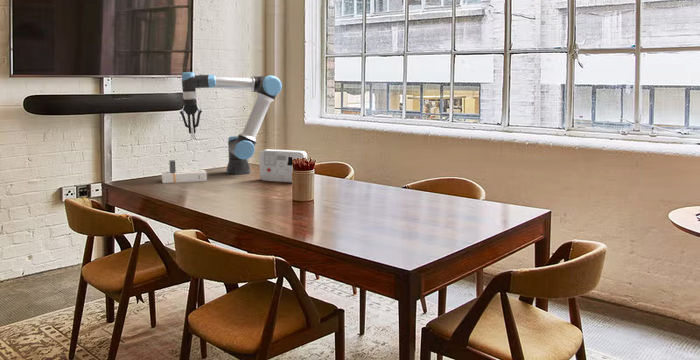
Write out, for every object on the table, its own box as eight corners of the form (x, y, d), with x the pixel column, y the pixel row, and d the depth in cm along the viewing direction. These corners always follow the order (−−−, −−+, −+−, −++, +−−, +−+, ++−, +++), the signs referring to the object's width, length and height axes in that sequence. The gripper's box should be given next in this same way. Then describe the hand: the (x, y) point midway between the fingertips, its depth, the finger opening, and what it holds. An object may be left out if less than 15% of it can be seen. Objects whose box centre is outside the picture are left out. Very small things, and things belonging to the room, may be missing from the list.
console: (204, 178, 400) (204, 169, 399) (207, 180, 390) (206, 172, 389) (161, 180, 392) (161, 171, 391) (162, 183, 382) (162, 174, 381)
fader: (175, 178, 392) (174, 160, 390) (176, 180, 387) (175, 161, 385) (170, 178, 391) (169, 160, 389) (170, 180, 386) (169, 161, 384)
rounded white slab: (257, 181, 390) (257, 150, 387) (263, 179, 397) (263, 149, 394) (302, 183, 380) (302, 152, 377) (307, 181, 387) (307, 151, 384)
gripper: (200, 98, 395) (203, 137, 399) (177, 99, 390) (180, 139, 394) (201, 98, 388) (204, 138, 392) (179, 99, 383) (182, 140, 388)
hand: (192, 138), depth 393 cm, fingers closed
